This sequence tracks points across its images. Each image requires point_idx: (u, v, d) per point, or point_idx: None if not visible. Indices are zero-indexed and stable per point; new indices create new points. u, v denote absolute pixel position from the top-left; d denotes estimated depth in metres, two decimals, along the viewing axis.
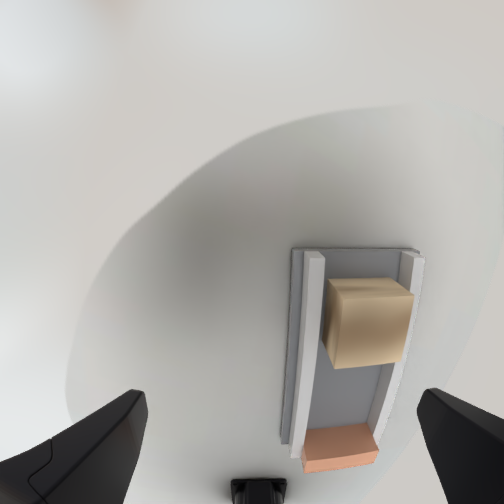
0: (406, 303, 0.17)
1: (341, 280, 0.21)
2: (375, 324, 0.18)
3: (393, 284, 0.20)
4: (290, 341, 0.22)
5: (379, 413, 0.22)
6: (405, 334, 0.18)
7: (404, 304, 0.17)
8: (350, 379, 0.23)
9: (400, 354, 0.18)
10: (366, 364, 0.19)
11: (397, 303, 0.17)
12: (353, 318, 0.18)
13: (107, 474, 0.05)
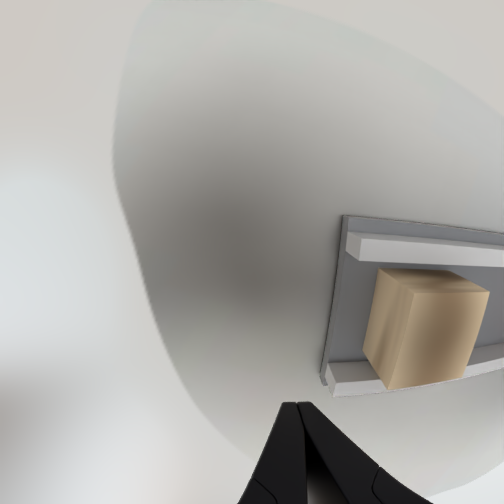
0: (420, 304, 0.11)
1: (367, 340, 0.16)
2: (432, 344, 0.12)
3: (389, 285, 0.14)
4: None
5: None
6: (460, 295, 0.11)
7: (421, 308, 0.11)
8: None
9: (481, 294, 0.11)
10: (474, 338, 0.12)
11: (416, 319, 0.12)
12: (413, 374, 0.12)
13: None
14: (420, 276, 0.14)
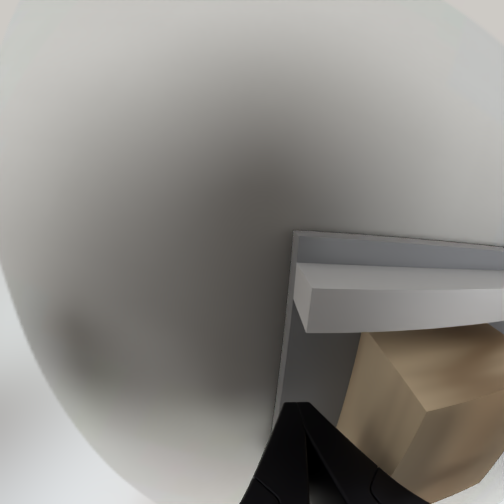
0: (436, 425, 0.05)
1: None
2: (443, 468, 0.05)
3: (378, 367, 0.07)
4: None
5: None
6: None
7: (436, 429, 0.05)
8: None
9: None
10: None
11: (423, 447, 0.05)
12: None
13: None
14: (438, 344, 0.07)
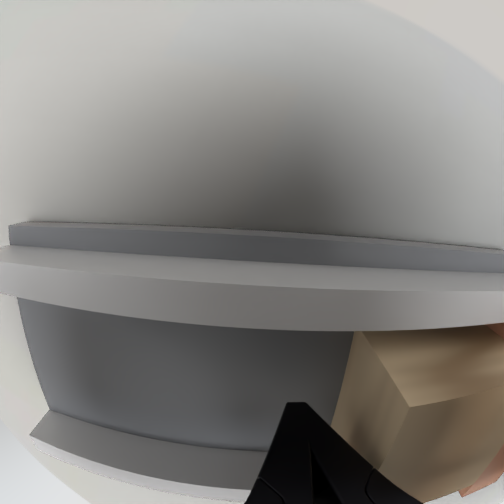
0: (421, 422, 0.05)
1: (334, 428, 0.09)
2: (432, 467, 0.05)
3: (369, 363, 0.07)
4: None
5: None
6: (499, 390, 0.05)
7: (421, 426, 0.05)
8: (315, 379, 0.09)
9: None
10: (503, 438, 0.05)
11: (408, 444, 0.05)
12: None
13: None
14: (430, 343, 0.07)
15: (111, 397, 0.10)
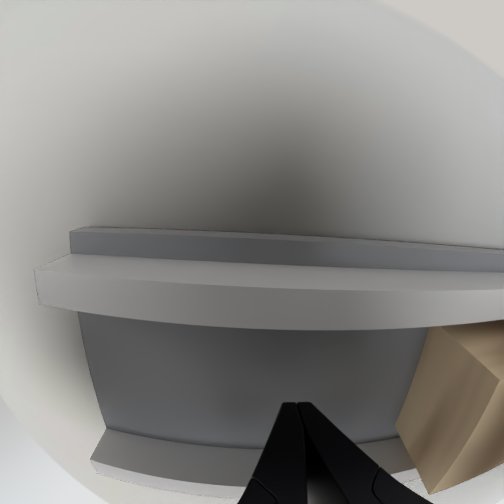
0: (503, 392, 0.05)
1: (405, 416, 0.09)
2: (499, 435, 0.06)
3: (450, 352, 0.07)
4: None
5: None
6: None
7: (502, 396, 0.05)
8: (394, 372, 0.09)
9: None
10: None
11: (492, 413, 0.05)
12: (466, 472, 0.06)
13: None
14: (491, 332, 0.07)
15: (190, 411, 0.10)
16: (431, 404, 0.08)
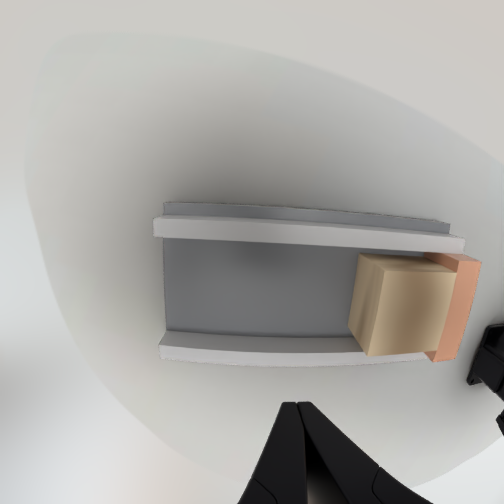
0: (391, 280, 0.14)
1: (351, 316, 0.19)
2: (404, 317, 0.15)
3: (366, 266, 0.17)
4: None
5: (402, 249, 0.16)
6: (427, 274, 0.14)
7: (392, 283, 0.14)
8: (340, 284, 0.19)
9: (448, 275, 0.14)
10: (445, 315, 0.15)
11: (388, 293, 0.15)
12: (390, 343, 0.15)
13: None
14: (395, 259, 0.17)
15: (224, 307, 0.19)
16: (361, 300, 0.17)
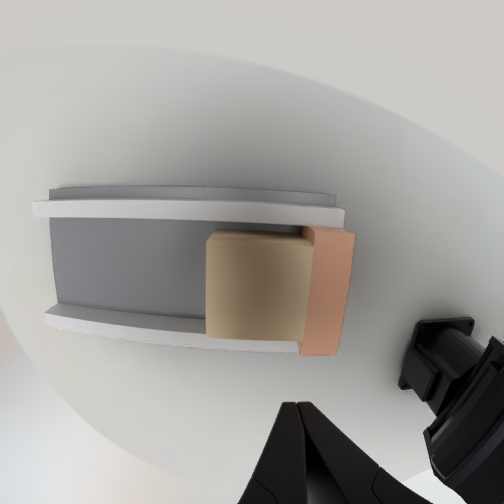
0: (216, 252, 0.14)
1: None
2: (243, 296, 0.15)
3: None
4: None
5: (252, 222, 0.16)
6: (266, 247, 0.14)
7: (218, 256, 0.14)
8: (199, 262, 0.18)
9: (300, 249, 0.14)
10: (307, 298, 0.15)
11: (215, 267, 0.14)
12: (231, 326, 0.15)
13: None
14: (247, 234, 0.17)
15: (96, 282, 0.19)
16: None
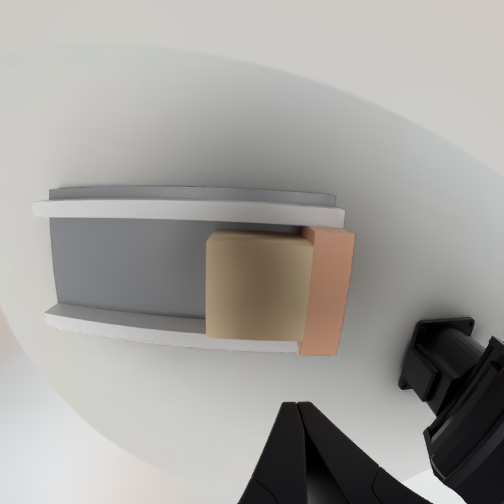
0: (216, 252, 0.14)
1: None
2: (243, 296, 0.15)
3: None
4: None
5: (252, 222, 0.16)
6: (266, 247, 0.14)
7: (218, 256, 0.14)
8: (199, 262, 0.18)
9: (300, 249, 0.14)
10: (307, 298, 0.15)
11: (215, 267, 0.14)
12: (231, 326, 0.15)
13: None
14: (247, 234, 0.17)
15: (96, 282, 0.19)
16: None
